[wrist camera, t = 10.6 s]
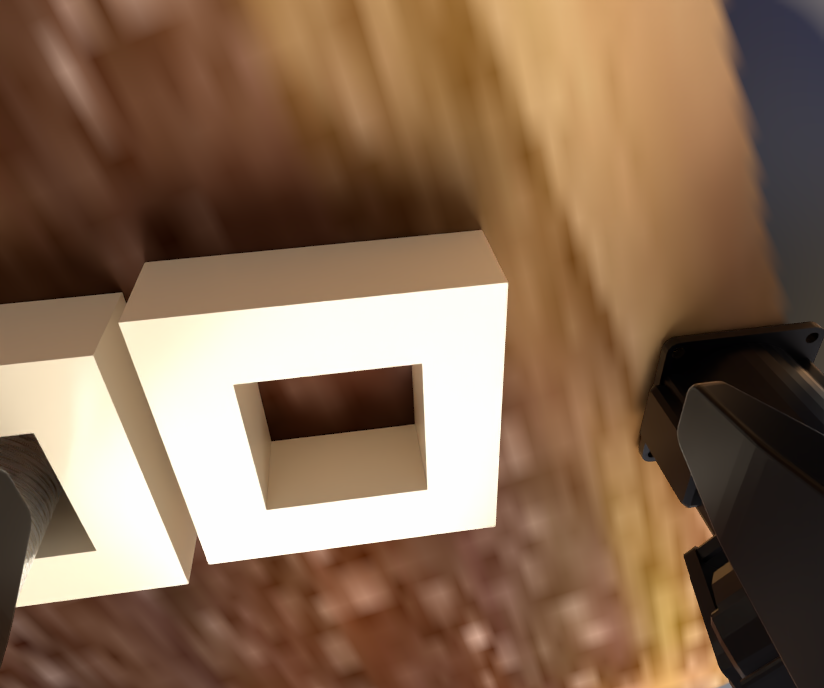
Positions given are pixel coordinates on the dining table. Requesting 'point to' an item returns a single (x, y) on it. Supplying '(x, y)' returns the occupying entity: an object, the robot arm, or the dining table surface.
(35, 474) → the tube
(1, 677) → the dining table surface
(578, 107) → the dining table surface
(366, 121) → the dining table surface
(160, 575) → the collar
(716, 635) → the robot arm
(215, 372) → the collar
